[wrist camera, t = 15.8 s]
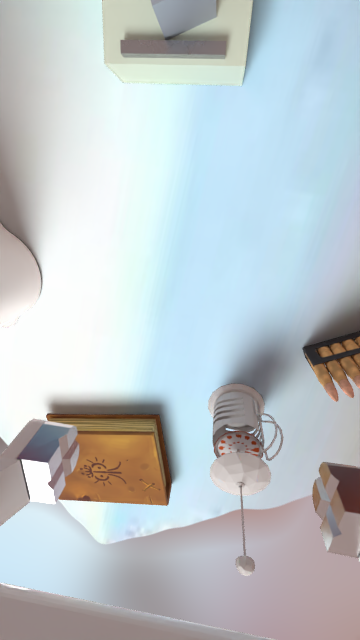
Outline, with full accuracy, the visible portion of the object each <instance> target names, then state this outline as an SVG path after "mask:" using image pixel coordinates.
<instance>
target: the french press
mask: <svg viewBox="0 0 360 640" xmlns="http://www.w3.org/2000/svg"><path fill="white" fill-rule="evenodd" d="M264 405H265V404H264V401H263V399H262V396H261V395H260V394H259V393H258V392H257V391H256V390H255V389H254V388H251V387H249V386H246V385H244V384H228V385H225V386H221V387H220V388H218V389H217V390H216V391H214V392H213V393H212V395H211V397H210V399H209V401H208V409H209V411H210V413H211V415H212V417H213V447H214V452H215V454H216V456H217V458H218V459H216V460H215V461H214V462H213V464H212V466H211V468H210V477H211V479H212V481H213V483H214V484H215V485H216V486H217V487H218V488H220V489H221V490H223V491H225V492H228V493H230V494H233V495H241V511H242V529H243V548H244V556H240V557H238V558H237V559H236V567H237V569H238V571H239V573H241V574H243V575H245V576H249V575H251V574H252V573H253V571H254V569H255V564H254V560H253V559H252V558H251V557H248V556H246V550H245V534H244V517H243V501H242V495H243V496H248V495H252V494H256V493H258V492H260V491H262V490H264V489H265V488H266V486H267V485H268V484H269V483H270V479H271V473H270V470H269V468H268V465H267V464H266V463H265V462H264V461H262V460H261V458H262V457H263V452H264V453H265V455H266V460H269V461H270V460H272V459H273V458H274V457H275V456H276V455H277V454H278V453H279V451H280V449H281V447H282V443H283V434H282V430H281V428H280V427H279V426H278V425H277V424H276V422H275V420H274V418H273V417H272V416H270V415H268V414H265V413H264ZM262 415H266V416H269V417H270V418H271V419H272V420H273V422H272V421H262V418H261V416H262ZM258 422H259V425H258ZM261 422H268V423H273V424H275V436H274V439H273V440H272V442H271V444H270V446H269V447H267V448H266V449H264V435H263V429H262V423H261ZM259 426H260V430H259ZM277 427H278V428H279V431H280V434H281V443H280V446H279V449H278V451H277V452H276V454H275V455H274V456H273V457H271V458H270V459H268V456H267V452H266V451H267V450H268V449H269V448H270V447H271V446H272V444H273V443H274V441H275V439H276V436H277ZM226 428H229V429H233V430H237V431H228V430H226ZM255 428H256V430H255V431H254V433H252V434H249V433H247V432H250V431H253V430H254V429H255ZM257 431H259V433H258V434H257V436H256V437H255V436H254V435H255V434H256V433H257ZM260 432H261V435H260ZM259 435H260V439H259V440H258V439H257V438H258V437H259ZM261 438H262V442H260V441H261Z"/></svg>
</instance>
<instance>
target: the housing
mask: <svg viewBox="0 0 360 640" xmlns="http://www.w3.org/2000/svg"><path fill="white" fill-rule="evenodd" d="M151 4H152V7H153V10H154V12H155V15H156V17H157V20H158V22H159V25H160V28H161V30H162V33H163V35H164V38H165V40H169V39H171V38H173V37H175V36H178V35H180V34H182V33H184V32H186V31H188V30H190V29H192V28H195V27H197V26H199V25H201V24H203V23H205V22H207V21H209V20H212V19H214V18H216V17H217V14H216V0H151Z"/></svg>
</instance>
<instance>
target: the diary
mask: <svg viewBox="0 0 360 640" xmlns="http://www.w3.org/2000/svg"><path fill="white" fill-rule="evenodd" d="M46 417H47V420H48V421H50V422H56V423H62V424H67V425H73V426H76V427H77V433H78V434H77V436H76V438H75V440H76V441H77V442H78V443H79V457H78V460H77V463H76V466H75V468H74V470H73V472H72V473H71V474H70V475H68V476H67V477H65V484H66V485H65V487H64V489H63V491H62V492H61V494H60V496H59V500H77V501H95V502H113V503H131V504H149V505H166V506H167V505H168V503H169V497H170V492H171V478H170V472H169V466H168V461H167V455H166V450H165V444H164V438H163V433H162V427H161V422H160V416H159V415H84V414H47V415H46Z"/></svg>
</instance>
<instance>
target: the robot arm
mask: <svg viewBox="0 0 360 640" xmlns="http://www.w3.org/2000/svg"><path fill="white" fill-rule="evenodd" d="M40 291H41V275H40V271H39V268H38V265H37V263H36V260H35V259H34V257H33V255H32V254H31V252H30V251H29V249H28V248H27V247H26V246H25V245H24V244H23V243H22V242H21V241H20V240H19V239H18V238H17V237H15V236H14V235H13V234H11V233H10V232H9V231H7V230H6V229H5V228H4V227H3V226H2V224H1V223H0V326H1V327H5V328H9V327H11V326H13V325H15V324H16V322H17V321H18V319H19V317H20V315H21V314H22V313H24V312H26V311H27V310H29V309H30V308H31V307H32V306H33V305H34V304H35V303H36V301H37V300H38V298H39V295H40ZM77 434H78V433H77V427H76V426H73V425H67V424H62V423H56V422H50V421H43V420H37V419H33V420H31V421H29V422H28V423H27V425H26V426H25V427H24V428H23V429H22V430H21V432H20V433H19V434H18V435H17V436H16V438H15V439H14V440H13V441H12V442H11V444H10V445H9V446H8V447H7V448H6V450H5V451H4V452H3V453H2V454H1V455H0V526H1V525H2V524H3V523H5V522H6V521H7V520H8V519H10V518H11V517H12V516H13V515H15V514H16V513H17V512H18V511H19V510H21V509H22V508H23V507H24V506H26V505H27V504H28V503H29V500H30V501H38V502H44V503H51V504H56V501H57V500H58V498H59V496H60V494H61V492H62V491H63V489H64V487H65V485H66V484H65V477H67V476H68V475H70V474H71V473H72V472H73V470H74V468H75V466H76V463H77V460H78V457H79V443H78V442H77V441H76V440H75V438H76V436H77ZM319 473H320V476H321V477H319V478H317V479H316V480H315V482H314V485H313V503H314V507H315V511H316V513H317V514H318V515H319V517H320V518H321V519H322V520H323V522H322V525H321V527H320V529H321V532H322V536H323V539H324V542H325V545H326V549H327V552H331V553H335V554H340V555H345V556H350V557H355V558H359V559H358V560H359V562H360V467H356V466H350V465H343V464H335V463H328V462H323V463H322V464H321V465H320V468H319ZM0 640H275V639H270V638H266V637H261V636H255V635H251V634H246V633H241V632H236V631H232V630H227V629H222V628H217V627H212V626H207V625H203V624H198V623H193V622H188V621H184V620H179V619H174V618H169V617H164V616H159V615H154V614H150V613H145V612H140V611H135V610H131V609H125V608H121V607H116V606H111V605H106V604H101V603H96V602H91V601H87V600H82V599H77V598H73V597H67V596H63V595H58V594H53V593H48V592H43V591H38V590H34V589H29V588H24V587H19V586H15V585H10V584H5V583H0Z"/></svg>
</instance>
